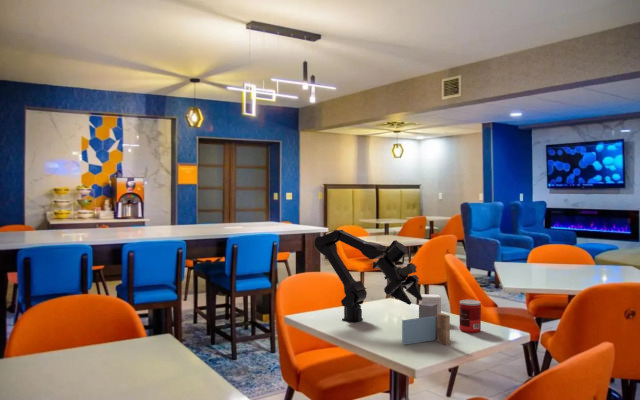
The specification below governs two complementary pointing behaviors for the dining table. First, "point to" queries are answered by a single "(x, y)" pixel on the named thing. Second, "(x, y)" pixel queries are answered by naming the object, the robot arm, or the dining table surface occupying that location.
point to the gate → (419, 330)
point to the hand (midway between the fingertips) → (416, 302)
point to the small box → (432, 300)
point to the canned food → (470, 316)
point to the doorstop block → (427, 310)
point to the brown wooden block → (443, 328)
